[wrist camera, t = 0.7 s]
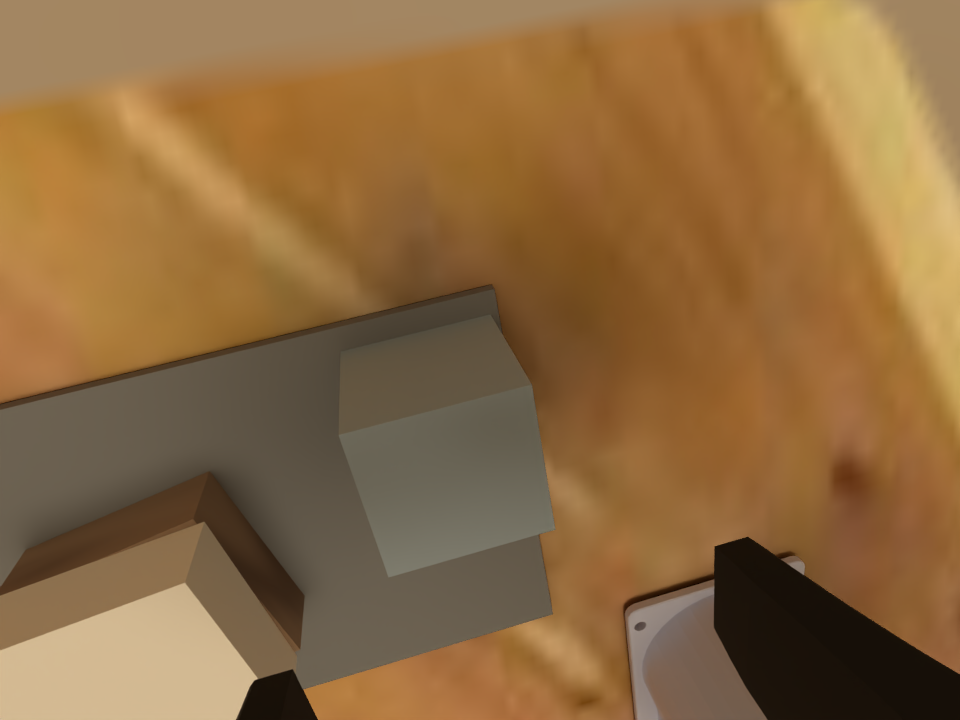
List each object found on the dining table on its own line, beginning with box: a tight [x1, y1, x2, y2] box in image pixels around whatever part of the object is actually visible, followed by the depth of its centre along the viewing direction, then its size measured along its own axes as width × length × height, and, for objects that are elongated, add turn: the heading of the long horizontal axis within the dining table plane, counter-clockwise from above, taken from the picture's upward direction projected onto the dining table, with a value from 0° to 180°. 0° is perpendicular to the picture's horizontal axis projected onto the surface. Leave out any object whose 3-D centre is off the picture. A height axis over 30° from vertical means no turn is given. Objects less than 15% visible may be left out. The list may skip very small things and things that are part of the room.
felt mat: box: [0, 285, 553, 689], centre depth 20 cm, size 14×18×1 cm
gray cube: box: [338, 314, 555, 577], centre depth 17 cm, size 4×4×4 cm
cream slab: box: [0, 522, 297, 720], centre depth 17 cm, size 6×6×2 cm
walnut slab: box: [0, 471, 305, 652], centre depth 18 cm, size 6×6×2 cm
